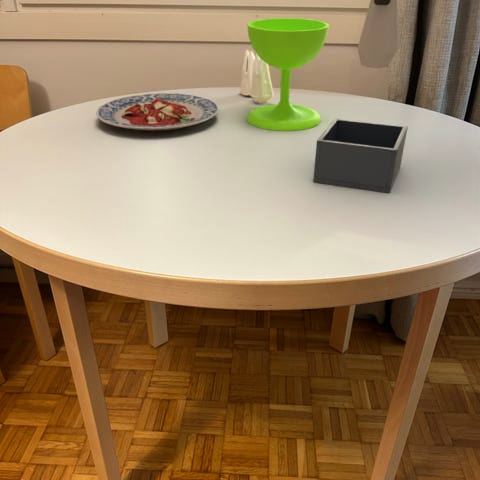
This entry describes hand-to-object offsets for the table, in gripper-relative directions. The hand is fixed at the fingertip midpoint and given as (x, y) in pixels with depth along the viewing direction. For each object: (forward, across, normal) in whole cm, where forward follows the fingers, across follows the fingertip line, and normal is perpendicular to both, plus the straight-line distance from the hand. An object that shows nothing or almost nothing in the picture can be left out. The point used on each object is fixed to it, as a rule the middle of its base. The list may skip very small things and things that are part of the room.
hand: (384, 2), depth 76 cm
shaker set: (+25, +36, +32) cm, 55 cm away
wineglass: (+25, +23, +21) cm, 40 cm away
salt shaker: (+8, 0, 0) cm, 8 cm away
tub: (+25, -2, 0) cm, 25 cm away
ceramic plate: (+25, +13, +46) cm, 54 cm away
